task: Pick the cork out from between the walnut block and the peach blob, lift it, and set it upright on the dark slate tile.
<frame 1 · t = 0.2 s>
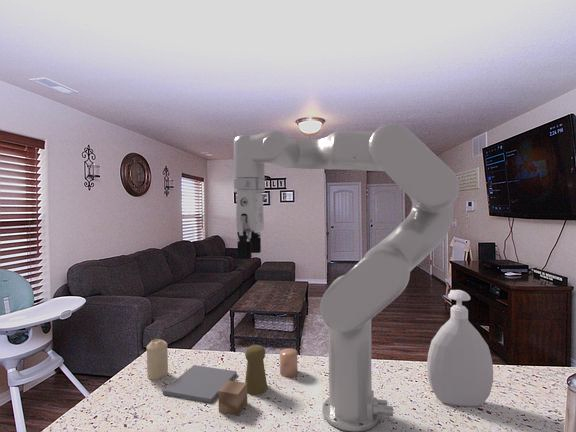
hand: (249, 255, 81), 36 cm above the countertop, tool pointing down, fingers open, 9 cm apart
cork: (255, 389, 86), on the countertop
soap bottle: (458, 401, 79), on the countertop
slate tile: (201, 384, 88), on the countertop
walnut block: (233, 407, 78), on the countertop
candle: (157, 375, 94), on the countertop
peach blob: (288, 372, 93), on the countertop
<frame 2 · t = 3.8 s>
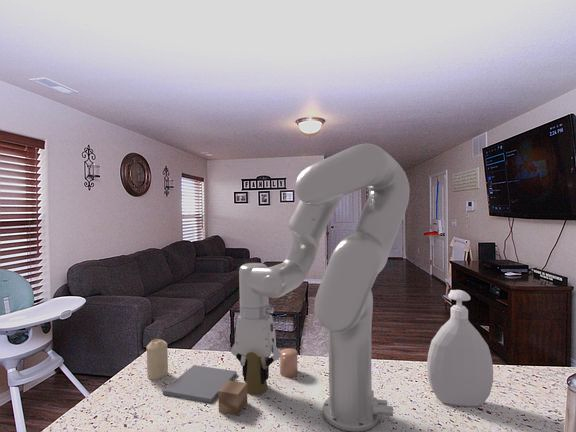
hand: (255, 379, 86), 2 cm above the countertop, tool pointing down, fingers closed on cork, 4 cm apart
cork: (255, 389, 86), on the countertop, touching gripper
everything else where it was.
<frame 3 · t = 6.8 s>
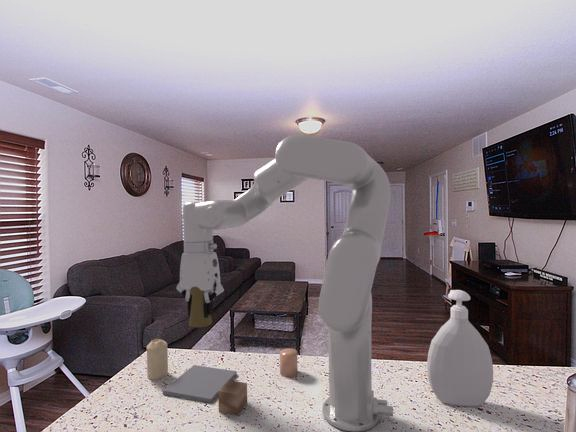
hand: (200, 314, 88), 19 cm above the countertop, tool pointing down, fingers closed on cork, 4 cm apart
cork: (200, 324, 88), point 16 cm above the countertop, touching gripper
everything else where it was.
when the fingers open (5 cm above the countertop, at t = 10.0 s): cork drops 1 cm, resting on slate tile.
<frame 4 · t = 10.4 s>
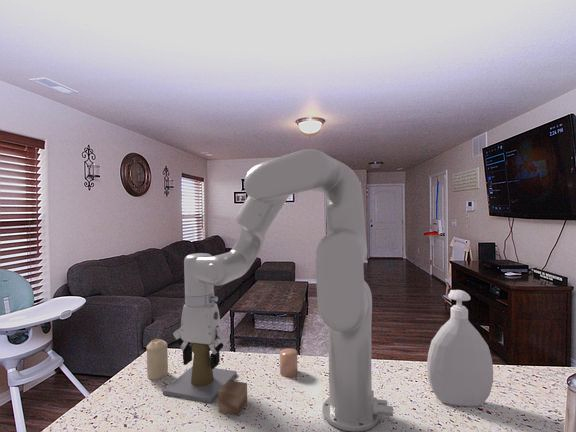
hand: (201, 364, 88), 5 cm above the countertop, tool pointing down, fingers open, 7 cm apart
cork: (202, 381, 88), point 1 cm above the countertop, touching slate tile
everything else where it was.
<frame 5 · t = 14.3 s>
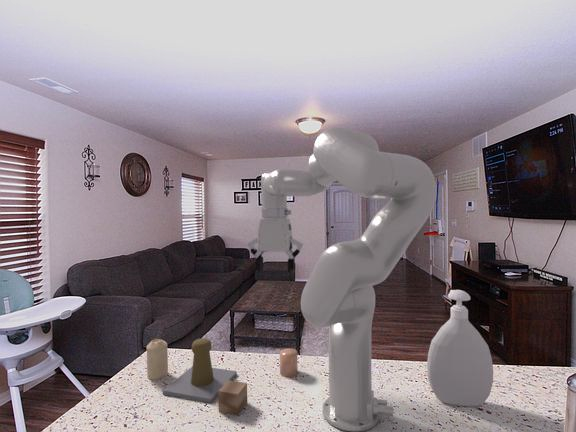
hand: (275, 271, 98), 28 cm above the countertop, tool pointing down, fingers open, 9 cm apart
nothing on the countertop moved.
at the end: cork inside the target area on the slate tile (0.2 cm from its centre), point 0.8 cm above the slate tile's base; cork tilted 0°; walnut block moved 0.1 cm from its start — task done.
